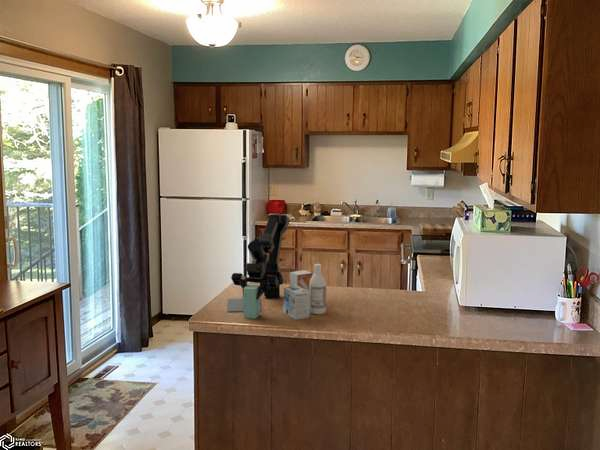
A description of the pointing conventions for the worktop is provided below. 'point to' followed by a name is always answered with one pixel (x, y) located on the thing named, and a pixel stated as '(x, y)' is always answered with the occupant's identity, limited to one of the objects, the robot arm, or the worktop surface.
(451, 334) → the worktop surface
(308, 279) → the small box
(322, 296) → the bath foam
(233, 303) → the mat
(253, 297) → the teal block
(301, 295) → the light bulb box
